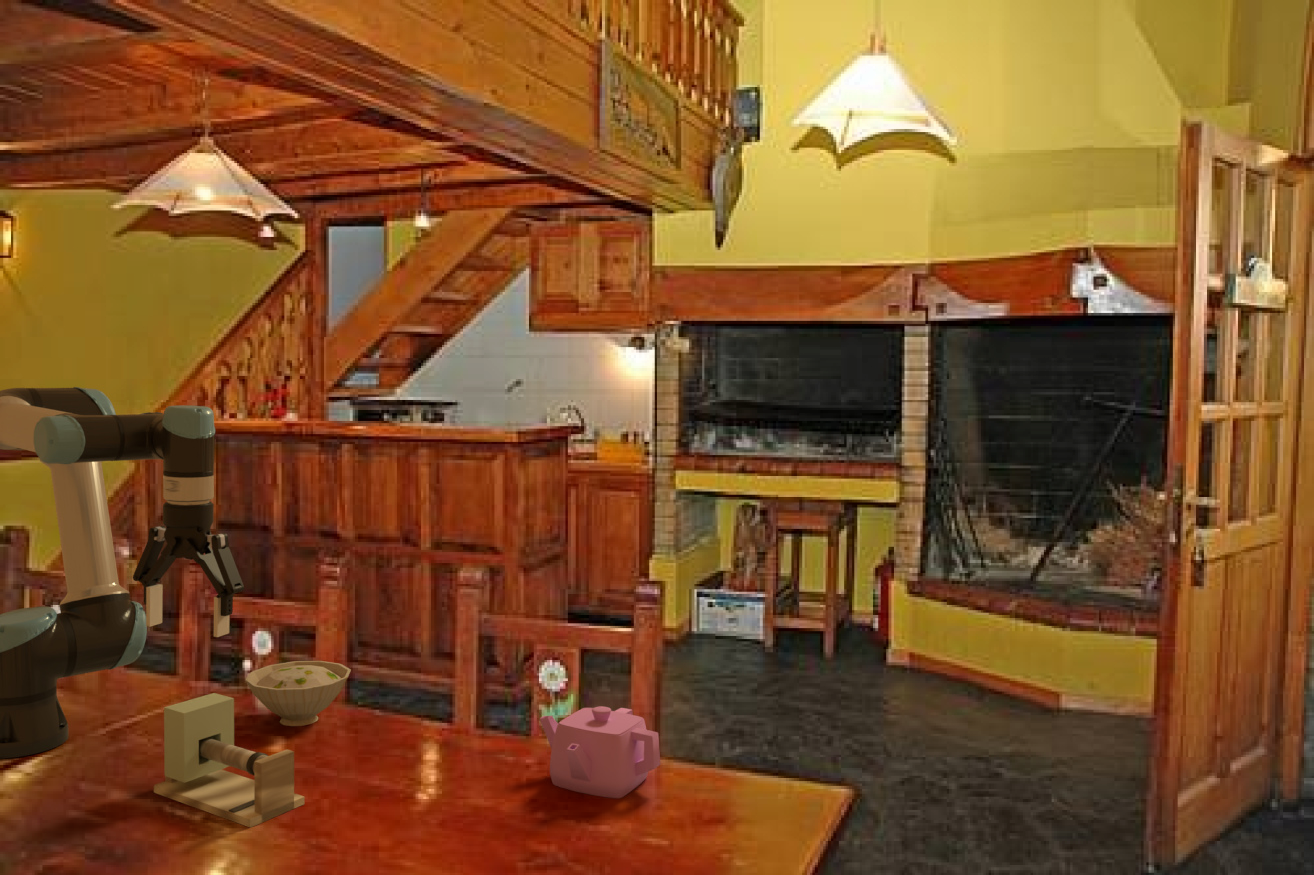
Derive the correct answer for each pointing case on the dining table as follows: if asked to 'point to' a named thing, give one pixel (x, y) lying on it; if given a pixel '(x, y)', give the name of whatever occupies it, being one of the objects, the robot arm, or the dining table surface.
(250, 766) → the rail stand
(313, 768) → the dining table surface
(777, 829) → the dining table surface
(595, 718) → the teakettle
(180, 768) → the square sliding block
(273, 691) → the bowl
